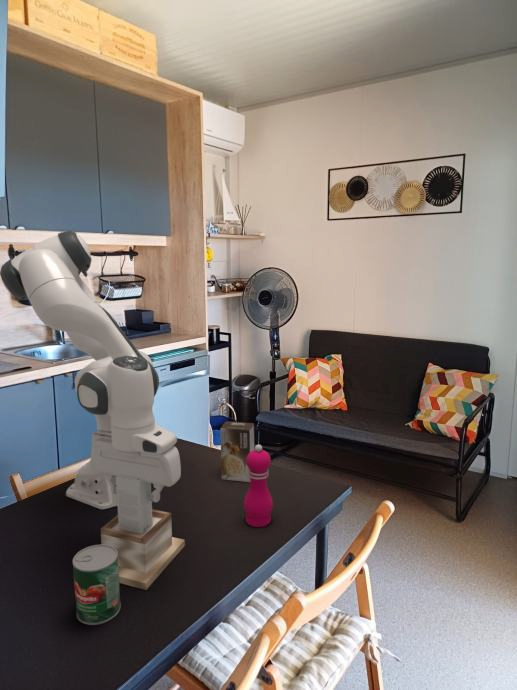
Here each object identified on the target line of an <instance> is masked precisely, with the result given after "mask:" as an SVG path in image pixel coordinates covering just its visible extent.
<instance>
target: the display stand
mask: <svg viewBox="0 0 517 690" xmlns="http://www.w3.org/2000/svg"><path fill="white" fill-rule="evenodd" d="M152 520H153V525H152V526H151V527H150V528H149V529H148V530H147V531H146V532H145V533H143V534H137V533H133V532H128V531H124V530H119V524H118V514H117V515H116V516H114V517H113V518H112V519H110V521H108V522H107V523H106V524H104V525H103V526H102V527H101V528H100V541H101V542H100V543H101V544H100V545H109V546H112V547H114V548H115V549H116V550H117V552H118V569H119V571H118V572H119V584H123V585H126V586H130V587H132V588H133V587H134V588H137V589H141V590H145V591H146V590H148V589H149V588H150V587H151V586H152V585H153V583H154V582H155V581H156V580H157V578H158V577H159V576H160V574H162V572H163V571H164V570H165V569H166V568H167V567H168V566H169V564H170V563H171V562H172V561H173V560H174V559H175V558H176V557H177V555H179V553H180V552H181V551H182V549H183V548H184V547H185V545H186V544H185V543H186V540H185V539H183V538H177V537H173V532H172V531H173V529H172V512H167V511H163V510H160V509H159V510H158V509H154V508H152Z"/></svg>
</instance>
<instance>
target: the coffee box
mask: <svg viewBox="0 0 517 690" xmlns="http://www.w3.org/2000/svg"><path fill="white" fill-rule="evenodd" d="M219 431H220V464H221V466H220V469H221V470H220V471H221V474H220V475H221V480H228V481H237V482H245V483H250V477H249V475H248V473H249V472H248V470H249V468H248V466H247V464H246V459H247V456H248V454H249V453H250V452H251V451H253V450H255V423H253V422H242V421H241V422H240V421H230V420H229V421H228V420H226V421H225V422H224V423H223V424H222V425H221V427H220V430H219Z"/></svg>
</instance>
